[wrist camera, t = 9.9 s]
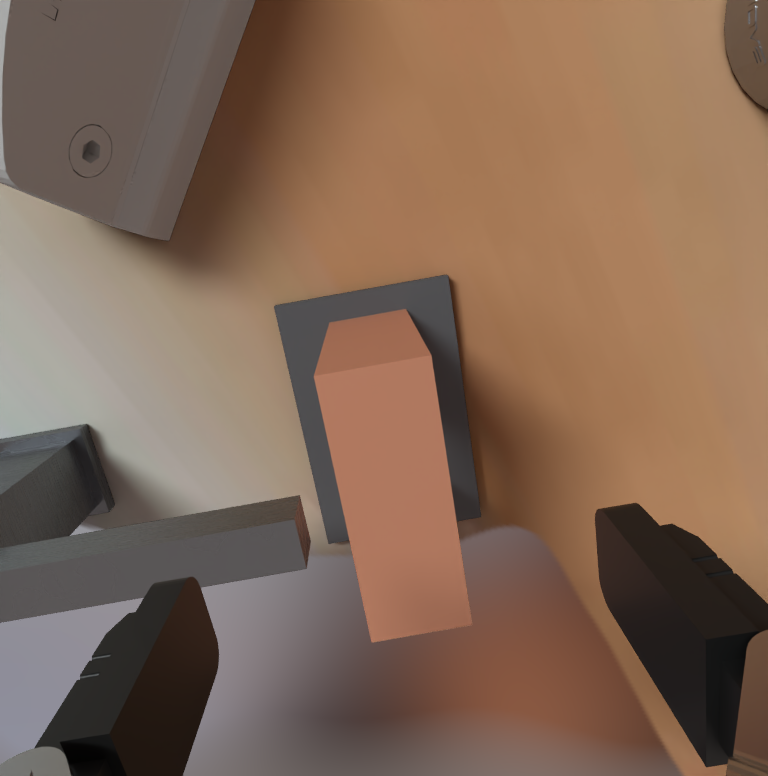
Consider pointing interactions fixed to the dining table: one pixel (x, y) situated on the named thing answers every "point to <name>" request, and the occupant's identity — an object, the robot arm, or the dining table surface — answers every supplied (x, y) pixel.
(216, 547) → the bracket
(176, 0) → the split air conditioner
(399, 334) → the pink block
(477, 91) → the dining table surface
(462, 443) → the mat
